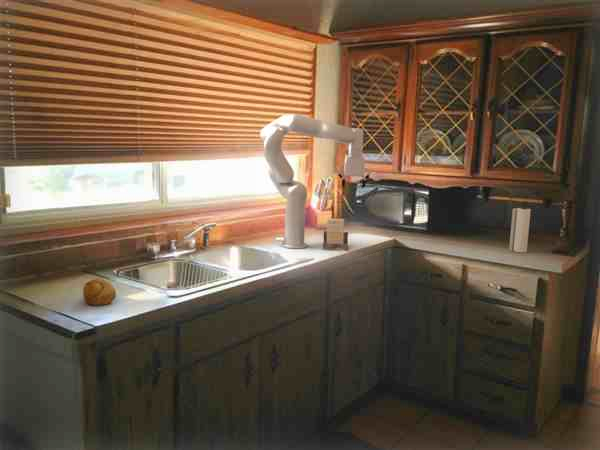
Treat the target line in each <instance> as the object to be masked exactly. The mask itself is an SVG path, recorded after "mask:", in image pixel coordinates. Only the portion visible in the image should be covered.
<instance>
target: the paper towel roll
mask: <svg viewBox="0 0 600 450" xmlns="http://www.w3.org/2000/svg"><path fill="white" fill-rule="evenodd" d="M530 219H531V208H525V207H516V208H512V214H511V224H510V235H509V236H510V237H509V246H508V247H509V249H508V251H510V252H511V251H513V252H515V253H521V254H522V253H523V254H524V253H527V252H528V251H527V250H528V243H529V242H528V241H529V233H530V232H529V230H530V223H531V222H530Z"/></svg>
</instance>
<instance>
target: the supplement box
mask: <svg viewBox="0 0 600 450" xmlns="http://www.w3.org/2000/svg"><path fill="white" fill-rule="evenodd" d="M344 229H345V219H344V218H327V219H326V231H327V243H329V244H343V241H344V232H345V230H344Z"/></svg>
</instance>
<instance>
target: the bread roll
mask: <svg viewBox="0 0 600 450" xmlns="http://www.w3.org/2000/svg"><path fill="white" fill-rule="evenodd" d="M115 289H116V288H115V287H114V286H113V285H112V283H110V282H108V281H107V280H104V279H103V278H102V279H101V278H96V279H92V280H89V281H88V282H86V283H84V285H83V288H82V291H83V293H82V294H83V299H84V301H85V303H86V304H88V305H90V306H94V305H97V306H102V305H103V304H104V305H109V304H110V302H111V303H112V302H113V301H114V300H115V298H116V296H117V295H116V294H117V293H116V290H115ZM108 303H109V304H108Z"/></svg>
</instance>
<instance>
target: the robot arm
mask: <svg viewBox="0 0 600 450" xmlns="http://www.w3.org/2000/svg"><path fill="white" fill-rule="evenodd" d="M290 132H291V133H296V134H299V135H302V136H303V135H304V136H308V137H312V138H316V139H327V140H332V141H333V142H335V143H337V144H347V147H346V148H347V149H346V150H344V154H346V155H345V157H344V163H343V165H344V166H343V167H341V168H340V169H339V168H338V169H337V170H336V173H337V175H338V177H339V178H340V179H341V187H342V188H345V185H346V184H345V183H346V180H345V178H346V177H361V178H362V180H361V182H362V183H361V185H362V186H361V188H362V189H364V188H365V187H366V181H367V180H368V178H370V176H371V174H372V171H371V170H369V169H367V168H366V167H365V157H364V156H363V147H364V129H363V128H357V127H356V128H355V127H353V128H351V127H348V126H344V125H341V124H336V123H333V122H328V121H325V120H320V119H316V118H312V117H309V116H306V115H301V114H297V113H286V114H284V115H282V116H280V117H278V118H277V119H275V120H274V121H272V122H270V123H268V124H267V125H266V126H264V127H263V128H262V129H261V130H260V134H259V137H260V139H261V140H262V142H263V143H264V144H263V155H264V157H265V160H266V162H267V163H268V166H269V168H268V174H269V178H270V179H271V181H272V183H273V185H274V187H276V190H277V191H278V192H279V195H281V197H282V198H284V199H285V200H286V203H285V211H284V212H285V213H284V215H285V217H284V218H285V221H284V222H285V223H284V224H285V225H284V226H285V227H284V228H285V229H284V236H282V237H277V236H276V237H275V242H280V243H281V242H282V243H281V247H282V248H286V249H297V250H298V249H305V248H307V247H308V243H307V242H305V227H306V226H305V225H306V224H305V223H306V203H307V198H308V189H307V187H306V186H305V185H304V184H303V183H302V182H299V181H296V180H294V177H295V172H294V169H293V167H292V165H291V164H290V163H289V161H288V160H287V158H286V156H285V154H284V152H283V149H282V145H283V141H284V138H285V136H286V135H287V134H288V133H290ZM341 172H343V175H342V173H341ZM366 172H367V175H365V173H366Z"/></svg>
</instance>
